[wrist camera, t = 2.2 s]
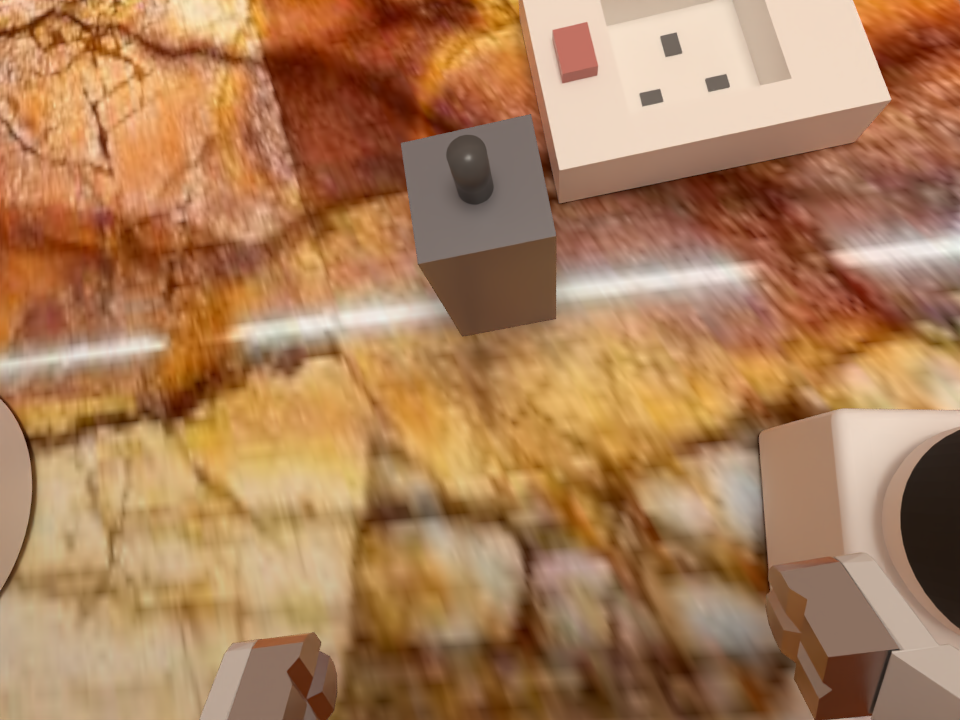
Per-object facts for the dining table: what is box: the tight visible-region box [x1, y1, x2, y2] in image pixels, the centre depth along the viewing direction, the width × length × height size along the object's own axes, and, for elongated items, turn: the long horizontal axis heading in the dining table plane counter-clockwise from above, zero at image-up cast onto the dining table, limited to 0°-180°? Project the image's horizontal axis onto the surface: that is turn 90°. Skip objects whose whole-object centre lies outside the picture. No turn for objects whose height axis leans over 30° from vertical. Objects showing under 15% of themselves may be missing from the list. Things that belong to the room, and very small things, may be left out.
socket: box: [519, 0, 891, 204], centre depth 27 cm, size 14×11×4 cm
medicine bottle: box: [759, 409, 960, 650], centre depth 17 cm, size 7×7×12 cm
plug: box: [401, 114, 556, 336], centre depth 22 cm, size 4×4×11 cm
